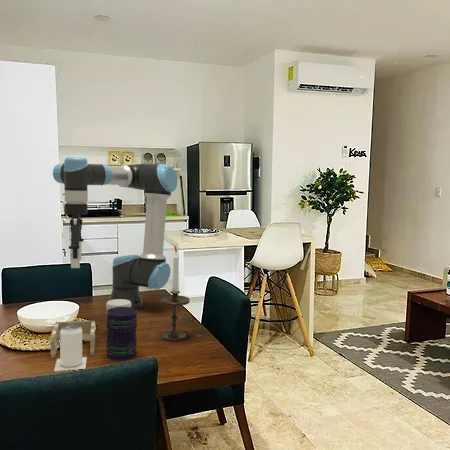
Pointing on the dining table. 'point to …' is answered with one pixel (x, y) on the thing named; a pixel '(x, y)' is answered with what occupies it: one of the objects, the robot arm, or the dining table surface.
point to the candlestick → (174, 304)
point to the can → (71, 345)
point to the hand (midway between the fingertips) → (76, 263)
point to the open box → (87, 334)
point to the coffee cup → (117, 303)
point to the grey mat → (61, 368)
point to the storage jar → (121, 333)
